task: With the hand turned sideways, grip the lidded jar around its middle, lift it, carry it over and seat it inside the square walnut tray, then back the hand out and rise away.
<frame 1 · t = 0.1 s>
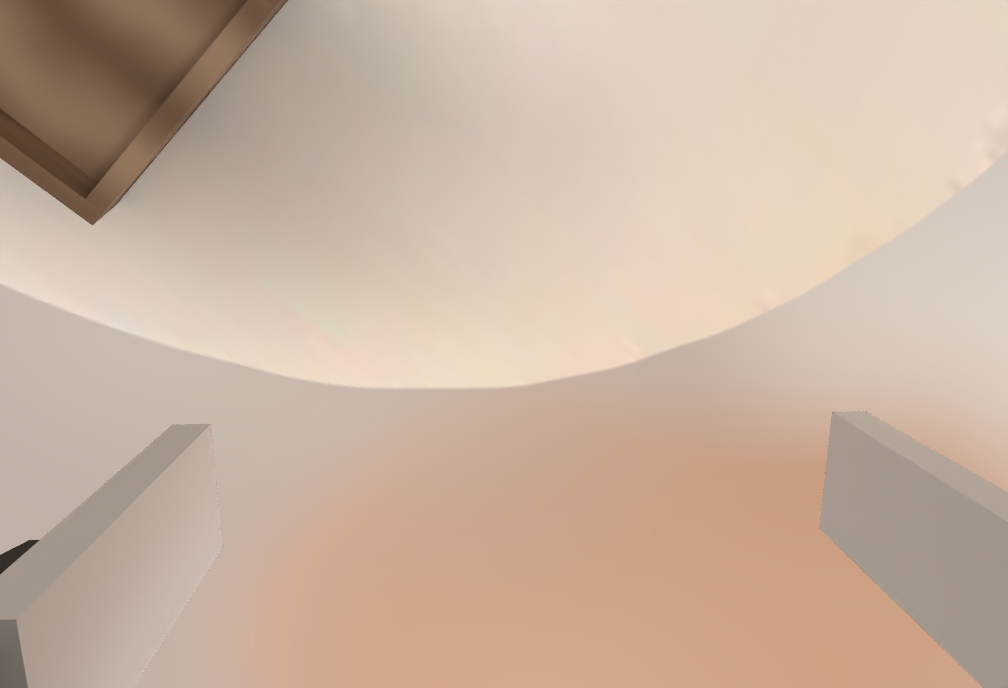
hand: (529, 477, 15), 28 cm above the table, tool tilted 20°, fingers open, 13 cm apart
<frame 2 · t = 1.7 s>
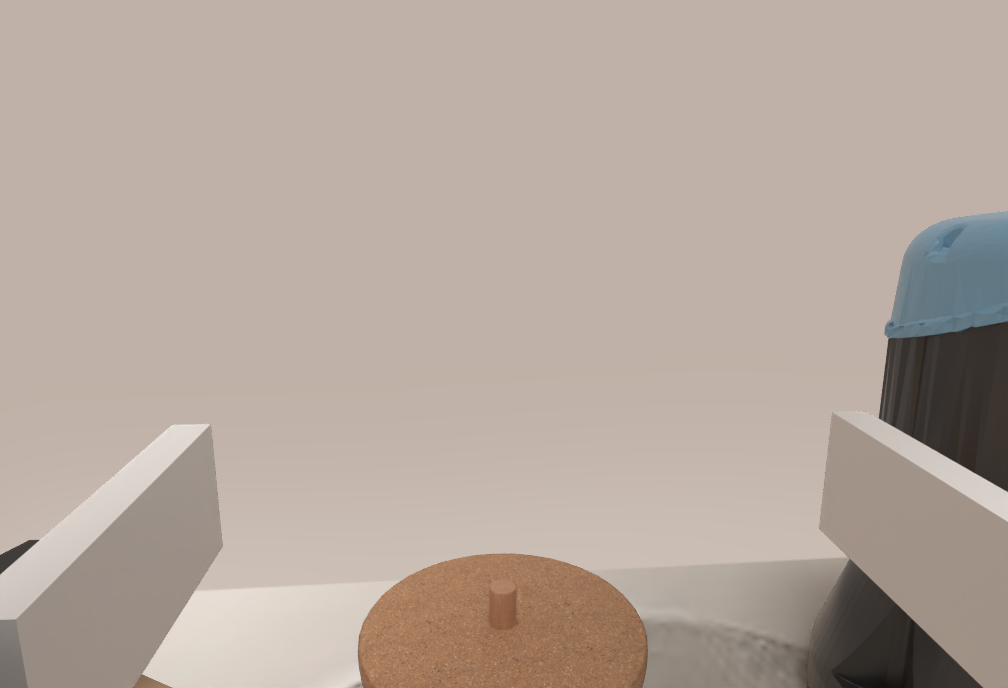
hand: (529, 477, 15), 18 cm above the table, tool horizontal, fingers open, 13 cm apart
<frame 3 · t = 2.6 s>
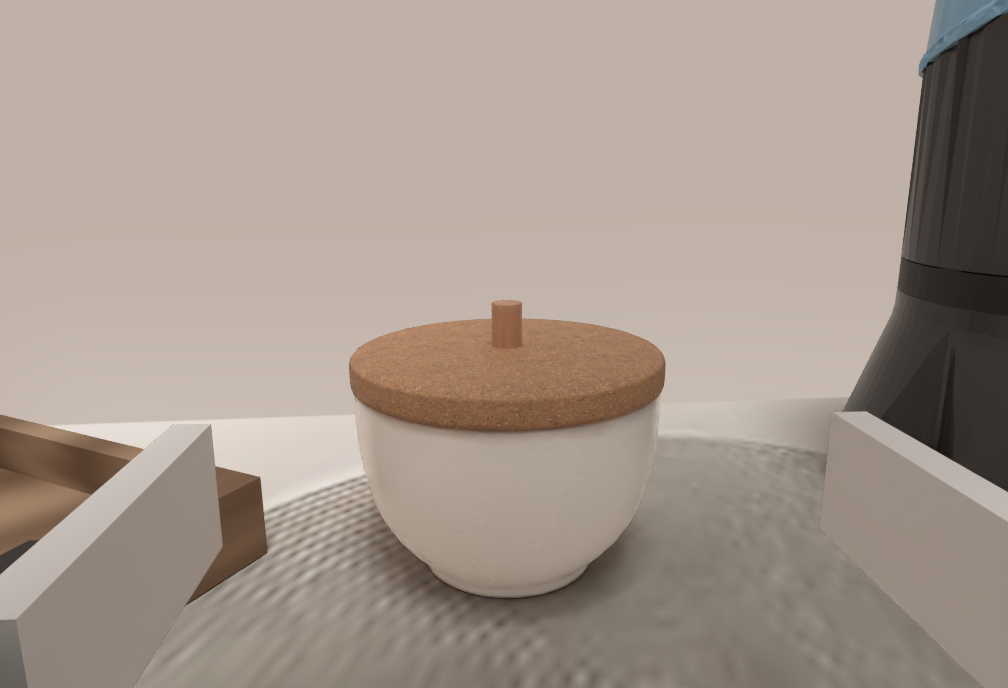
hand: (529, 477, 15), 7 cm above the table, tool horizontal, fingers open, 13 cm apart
lidded jar: (508, 556, 27), on the table
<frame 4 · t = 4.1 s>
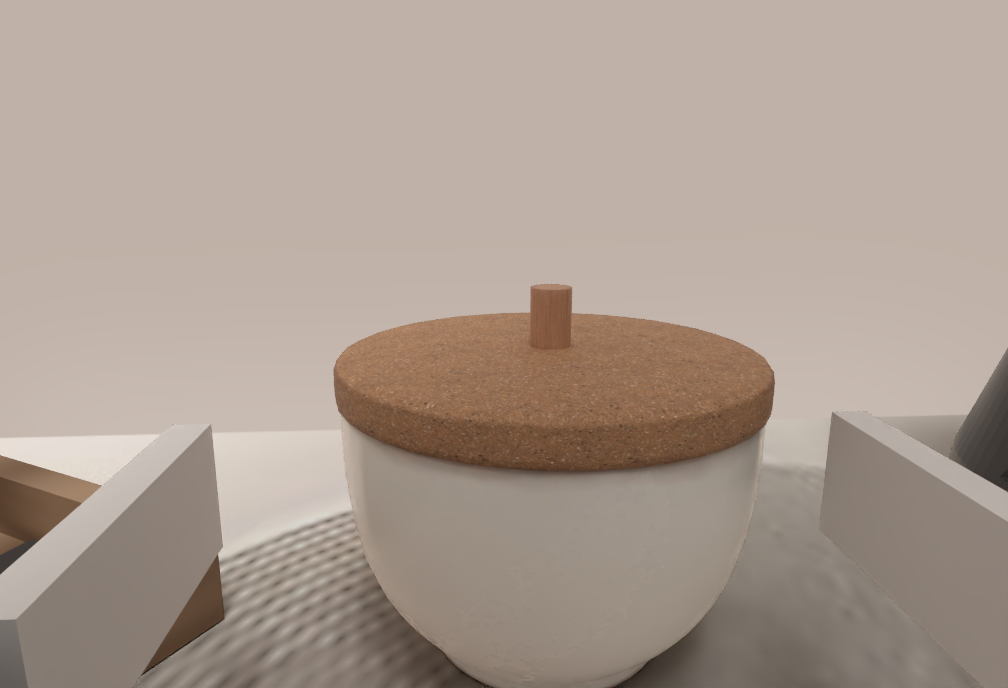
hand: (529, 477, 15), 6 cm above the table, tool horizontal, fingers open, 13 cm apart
lidded jar: (545, 627, 20), on the table
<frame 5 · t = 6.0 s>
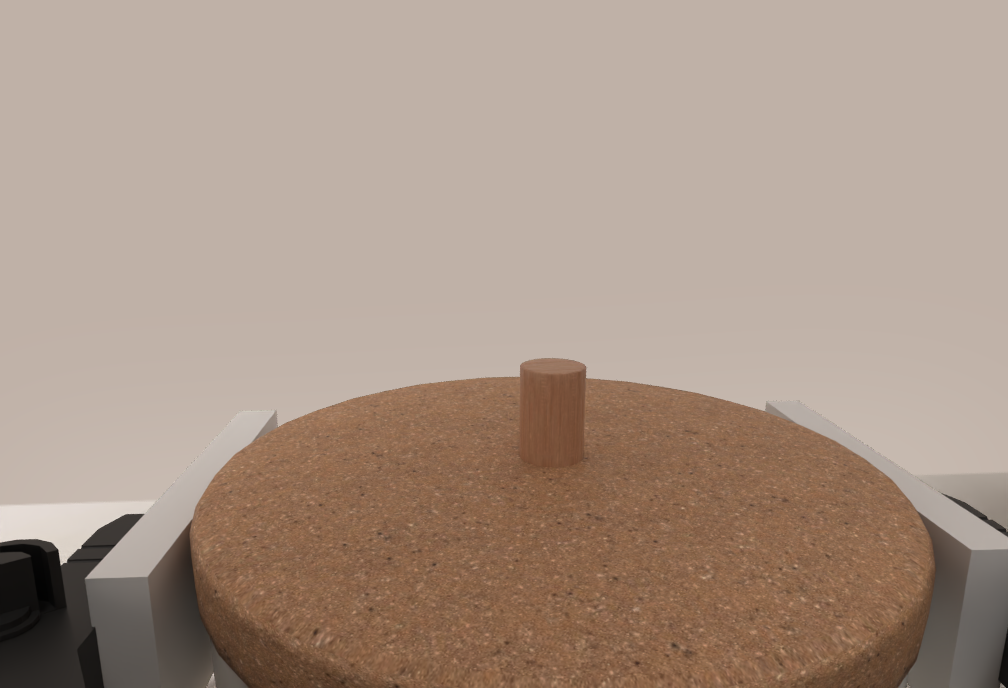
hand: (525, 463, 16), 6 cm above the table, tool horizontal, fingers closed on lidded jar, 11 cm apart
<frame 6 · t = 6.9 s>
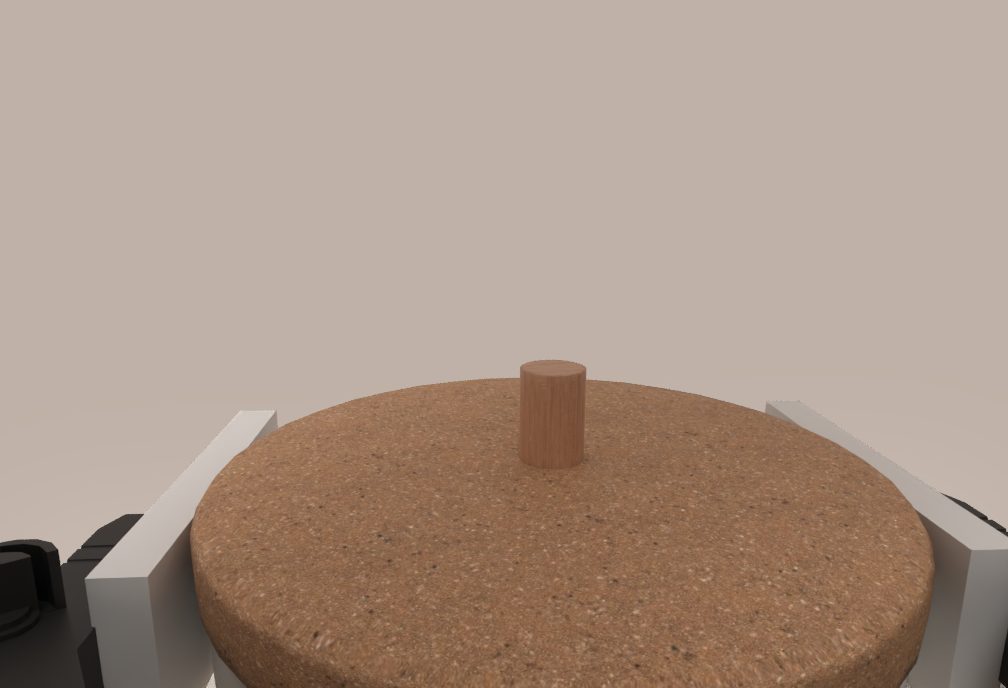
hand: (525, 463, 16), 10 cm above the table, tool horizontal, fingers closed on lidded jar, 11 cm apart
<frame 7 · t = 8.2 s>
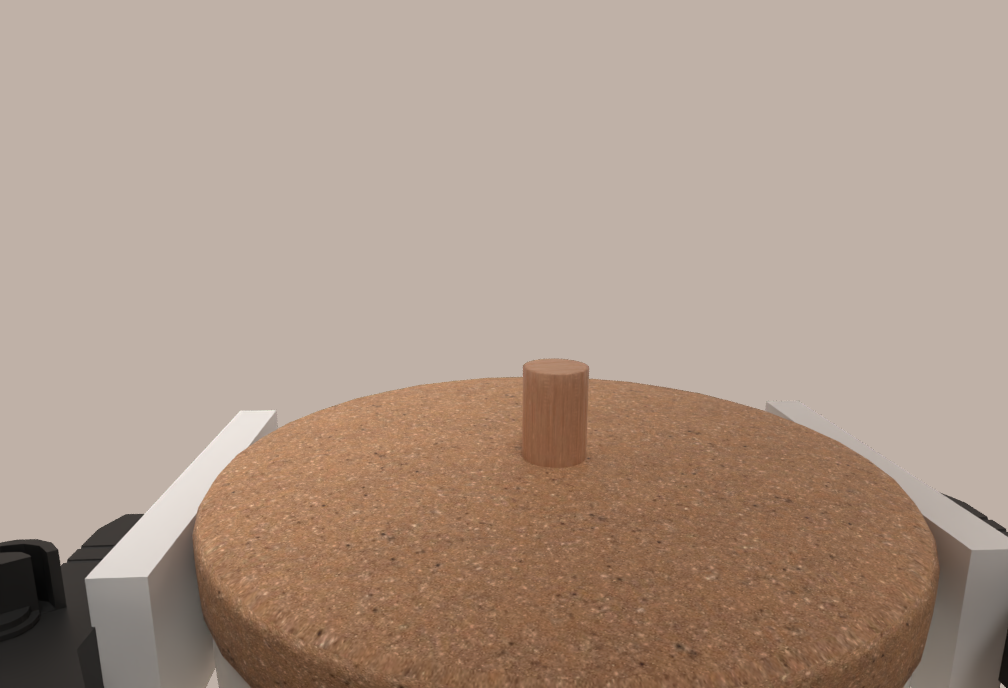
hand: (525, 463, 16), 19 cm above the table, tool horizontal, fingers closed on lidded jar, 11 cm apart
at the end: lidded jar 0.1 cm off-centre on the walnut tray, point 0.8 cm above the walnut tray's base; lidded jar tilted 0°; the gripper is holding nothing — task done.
